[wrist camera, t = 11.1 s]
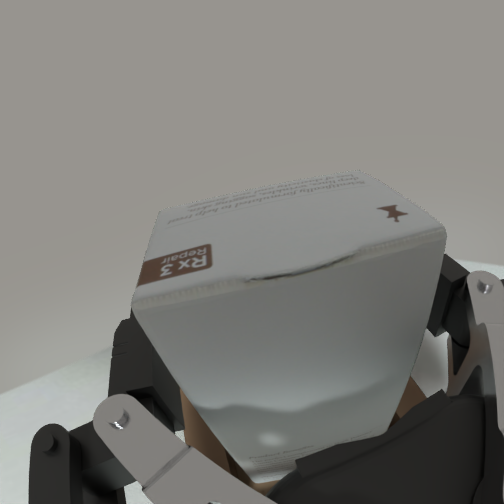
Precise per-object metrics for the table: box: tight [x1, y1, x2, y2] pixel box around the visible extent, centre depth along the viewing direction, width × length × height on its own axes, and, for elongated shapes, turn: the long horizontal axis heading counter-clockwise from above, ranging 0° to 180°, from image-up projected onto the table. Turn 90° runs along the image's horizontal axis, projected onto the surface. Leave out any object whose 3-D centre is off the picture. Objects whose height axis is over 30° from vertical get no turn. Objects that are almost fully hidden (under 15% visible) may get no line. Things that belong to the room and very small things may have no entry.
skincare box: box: [131, 170, 447, 483], centre depth 10 cm, size 6×4×12 cm
